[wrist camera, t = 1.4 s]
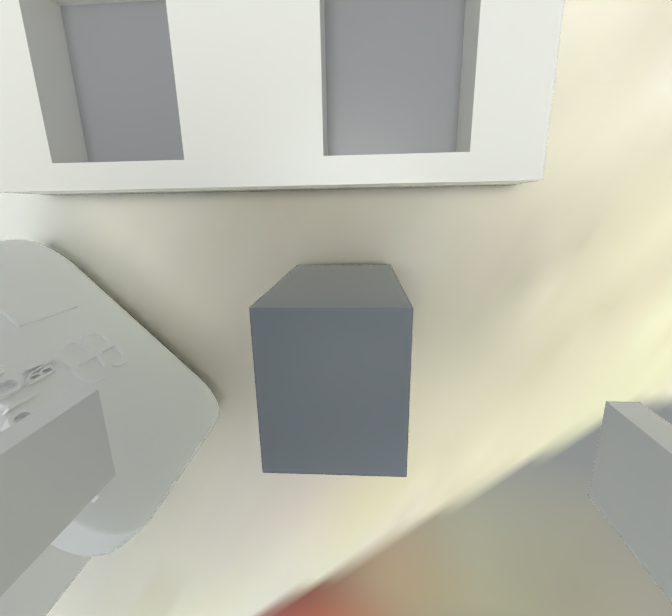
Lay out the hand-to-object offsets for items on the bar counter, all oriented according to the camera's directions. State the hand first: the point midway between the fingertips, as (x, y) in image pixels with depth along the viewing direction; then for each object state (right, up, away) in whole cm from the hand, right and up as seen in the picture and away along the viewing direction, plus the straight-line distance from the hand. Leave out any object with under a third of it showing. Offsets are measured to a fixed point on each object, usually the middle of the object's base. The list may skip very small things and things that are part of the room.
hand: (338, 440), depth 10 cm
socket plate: (-4, +16, +9) cm, 19 cm away
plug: (0, +3, +12) cm, 13 cm away
